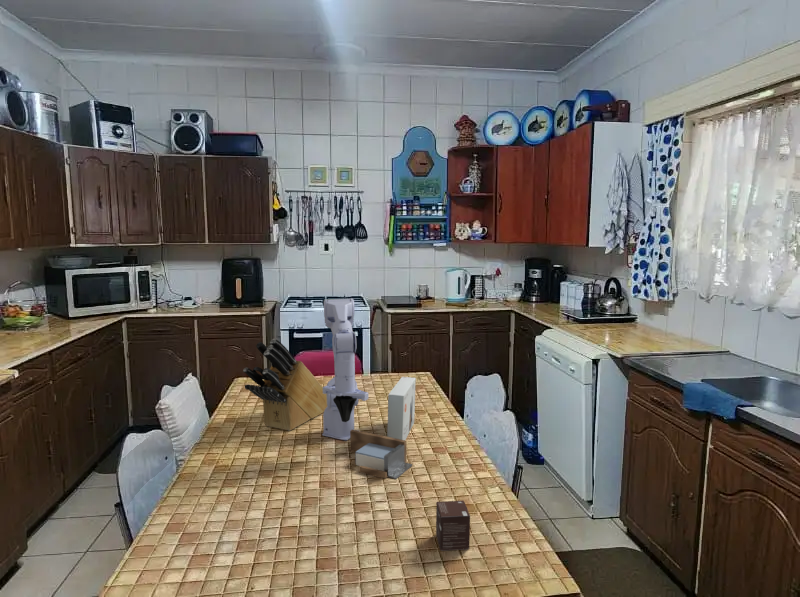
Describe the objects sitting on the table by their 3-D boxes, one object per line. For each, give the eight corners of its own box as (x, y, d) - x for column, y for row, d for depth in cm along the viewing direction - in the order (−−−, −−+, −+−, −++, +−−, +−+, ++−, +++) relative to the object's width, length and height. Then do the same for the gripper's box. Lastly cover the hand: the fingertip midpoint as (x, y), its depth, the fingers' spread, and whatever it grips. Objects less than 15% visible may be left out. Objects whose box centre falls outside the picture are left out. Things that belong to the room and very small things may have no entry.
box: (435, 534, 107) (435, 501, 106) (463, 532, 107) (464, 499, 106) (440, 551, 101) (440, 516, 100) (470, 550, 101) (470, 515, 100)
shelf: (329, 464, 140) (328, 443, 139) (352, 449, 150) (352, 429, 150) (385, 478, 132) (385, 456, 131) (406, 461, 142) (406, 440, 141)
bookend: (384, 476, 133) (384, 456, 132) (400, 462, 141) (400, 443, 140) (396, 479, 131) (396, 458, 131) (412, 465, 139) (412, 446, 139)
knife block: (242, 436, 160) (238, 340, 157) (309, 404, 192) (307, 323, 188) (270, 442, 156) (267, 343, 152) (334, 408, 187) (333, 325, 183)
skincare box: (404, 447, 152) (403, 395, 150) (386, 445, 153) (386, 394, 151) (416, 422, 172) (416, 376, 171) (400, 421, 173) (400, 375, 172)
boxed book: (355, 466, 140) (354, 452, 139) (369, 456, 146) (369, 442, 146) (386, 473, 135) (386, 459, 135) (399, 463, 141) (399, 449, 141)
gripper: (315, 374, 144) (316, 420, 146) (358, 381, 138) (359, 429, 139) (330, 369, 151) (331, 413, 152) (372, 375, 144) (372, 421, 145)
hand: (345, 420), depth 146 cm, fingers closed
